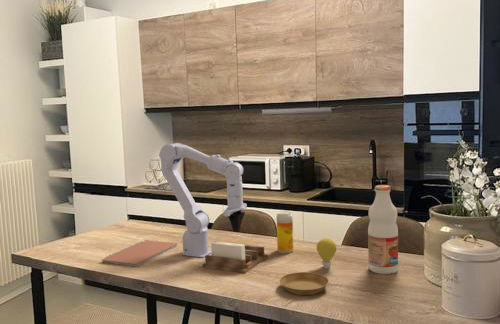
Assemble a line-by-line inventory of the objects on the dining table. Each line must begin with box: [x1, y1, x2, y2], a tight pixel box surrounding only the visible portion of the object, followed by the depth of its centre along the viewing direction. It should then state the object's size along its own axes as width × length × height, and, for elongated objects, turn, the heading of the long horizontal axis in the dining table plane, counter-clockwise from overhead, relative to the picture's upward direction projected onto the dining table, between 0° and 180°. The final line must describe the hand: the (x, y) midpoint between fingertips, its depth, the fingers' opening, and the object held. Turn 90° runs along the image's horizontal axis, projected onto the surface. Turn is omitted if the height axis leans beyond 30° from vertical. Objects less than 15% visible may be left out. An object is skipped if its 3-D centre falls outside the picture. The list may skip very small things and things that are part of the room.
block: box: [210, 241, 246, 264], centre depth 160 cm, size 12×2×7 cm, turn 64°
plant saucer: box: [279, 271, 330, 296], centre depth 138 cm, size 15×15×3 cm
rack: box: [201, 244, 268, 274], centre depth 165 cm, size 17×18×4 cm
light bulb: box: [316, 237, 337, 269], centre depth 155 cm, size 7×7×10 cm
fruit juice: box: [367, 184, 399, 275], centre depth 150 cm, size 9×9×28 cm
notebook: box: [101, 239, 179, 268], centre depth 179 cm, size 27×17×2 cm, turn 156°
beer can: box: [276, 211, 294, 254], centre depth 175 cm, size 6×6×15 cm
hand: (236, 231), depth 171 cm, fingers closed
